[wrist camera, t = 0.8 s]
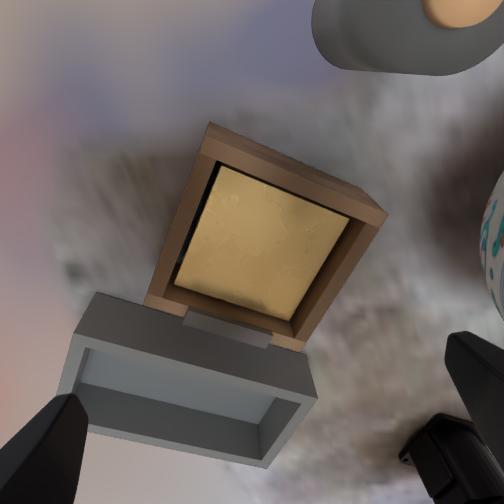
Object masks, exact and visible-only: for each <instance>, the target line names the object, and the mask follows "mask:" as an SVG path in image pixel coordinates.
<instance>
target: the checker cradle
mask: <svg viewBox="0 0 504 504" xmlns="http://www.w3.org/2000/svg"><path fill="white" fill-rule="evenodd" d="M216 160H218V161H220V162H223V163H225V164H228V165H230V166H232V167H235V168H237V169H240V170H242V171H244V172H247V173H249V174H251V175H254V176H256V177H259V178H261V179H263V180H266V181H268V182H271V183H273V184H275V185H278V186H280V187H283V188H285V189H287V190H290V191H292V192H294V193H297V194H299V195H302V196H304V197H306V198H309V199H311V200H314V201H316V202H318V203H321V204H323V205H326V206H328V207H330V208H333V209H335V210H337V211H340V212H342V213H345V214H346V215H347V216H348V218H349V221H348V223H347V224H346V226H345V228H344V229H343V231H342V233H341V234H340V236H339V238H338V239H337V241H336V243H335V244H334V246H333V248H332V249H331V251H330V253H329V254H328V256H327V258H326V259H325V261H324V263H323V264H322V266H321V268H320V269H319V271H318V273H317V274H316V276H315V278H314V280H313V281H312V283H311V285H310V286H309V288H308V290H307V291H306V293H305V295H304V296H303V298H302V300H301V301H300V303H299V305H298V306H297V308H296V310H295V311H294V313H293V315H292V316H291V318H290V320H289V321H287V320H284V319H281V318H278V317H274V316H271V315H268V314H265V313H262V312H259V311H256V310H253V309H249V308H246V307H243V306H240V305H237V304H234V303H231V302H228V301H225V300H221V299H218V298H215V297H212V296H209V295H206V294H203V293H200V292H197V291H193V290H190V289H187V288H184V287H181V286H178V285H175V284H174V282H175V277H176V274H177V271H178V269H179V266H180V264H178V263H176V261H177V259H178V256H179V253H180V251H181V248H182V246H183V243H184V241H185V238H186V236H187V233H188V231H189V228H190V226H191V223H192V220H193V218H194V215H195V213H196V210H197V208H198V205H199V203H200V200H201V198H202V195H203V193H204V190H205V187H206V185H207V182H208V180H209V177H210V175H211V172H212V170H213V167H214V165H215V162H216ZM388 215H389V214H388V213H387V212H385V211H384V210H383V209H382V208H381V207H380V206H379V205H378V204H377V203H376V202H375V201H374V200H373V199H372V198H371V197H370V196H369V195H367V194H366V193H365V192H364V191H363V190H362V189H360V188H358V187H356V186H353V185H351V184H349V183H347V182H344V181H342V180H340V179H338V178H335V177H333V176H331V175H329V174H326V173H324V172H322V171H320V170H317V169H315V168H313V167H311V166H308V165H306V164H304V163H302V162H299V161H297V160H295V159H292V158H290V157H288V156H286V155H283V154H281V153H279V152H277V151H274V150H272V149H270V148H268V147H265V146H263V145H261V144H259V143H256V142H254V141H252V140H250V139H247V138H245V137H243V136H241V135H238V134H236V133H234V132H232V131H229V130H227V129H225V128H223V127H220V126H218V125H216V124H214V123H211V122H209V124H208V127H207V130H206V133H205V135H204V138H203V141H202V143H201V146H200V149H199V152H198V154H197V157H196V160H195V162H194V165H193V168H192V171H191V173H190V176H189V179H188V181H187V184H186V187H185V190H184V192H183V195H182V198H181V200H180V203H179V206H178V209H177V211H176V214H175V217H174V219H173V222H172V225H171V228H170V230H169V233H168V236H167V238H166V241H165V244H164V247H163V249H162V252H161V255H160V257H159V260H158V263H157V266H156V268H155V271H154V274H153V277H152V280H151V283H150V286H149V289H148V292H147V295H146V298H145V301H144V303H143V305H145V306H148V307H152V308H155V309H158V310H161V311H165V312H168V313H171V314H175V315H178V316H181V317H184V318H183V325H186V326H190V327H193V328H196V329H200V330H203V331H207V332H210V333H213V334H217V335H220V336H223V337H227V338H230V339H234V340H237V341H240V342H244V343H247V344H251V345H254V346H257V347H261V348H264V349H266V347H267V346H268V344H269V343H271V344H275V345H278V346H281V347H285V348H288V349H291V350H295V351H298V352H300V351H301V350H302V348H303V347H304V345H305V344H306V342H307V341H308V339H309V337H310V336H311V334H312V333H313V331H314V330H315V328H316V327H317V325H318V323H319V322H320V320H321V319H322V317H323V316H324V314H325V313H326V311H327V310H328V308H329V306H330V305H331V303H332V302H333V300H334V299H335V297H336V296H337V294H338V292H339V291H340V289H341V288H342V286H343V285H344V283H345V282H346V280H347V279H348V277H349V275H350V274H351V272H352V271H353V269H354V268H355V266H356V265H357V263H358V261H359V260H360V258H361V257H362V255H363V254H364V252H365V251H366V249H367V248H368V246H369V244H370V243H371V241H372V240H373V238H374V237H375V235H376V234H377V232H378V230H379V229H380V227H381V226H382V224H383V223H384V221H385V220H386V218H387V216H388Z"/></svg>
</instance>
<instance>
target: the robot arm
mask: <svg viewBox="0 0 504 504" xmlns="http://www.w3.org/2000/svg"><path fill="white" fill-rule="evenodd" d="M445 365H446V368H447V370H448V372H449V374H450V376H451V378H452V380H453V382H454V384H455V386H456V388H457V390H458V392H459V394H460V396H461V398H462V400H463V403H464V405H465V407H466V409H467V411H468V413H469V415H470V417H471V419H472V421H473V423H471V422H467V421H464V420H460V419H456V418H453V417H449V416H446V415H438V416H436V417H435V418H434V419H433V420H432V421H431V422H430V423H429V424H428V426H427V427H426V428H425V429H424V430H423V431H422V432H421V433H420V434H419V435H418V436H417V437H416V438H415V439H414V440H413V441H412V442H411V443H410V444H409V445H408V446H407V448H406V449H405V450H404V451H403V452H402V453H401V454H400V455H399V460H400V462H401V463H404V464H408V465H412V466H415V467H416V469H417V471H418V474H419V476H420V478H421V480H422V482H423V484H424V486H425V489H426V491H427V493H428V495H429V497H430V498H432V499H433V501H434V503H435V504H504V349H502V348H500V347H498V346H496V345H494V344H492V343H490V342H488V341H486V340H484V339H483V338H481V337H479V336H477V335H475V334H473V333H471V332H468V331H462V332H455V333H451V334H449V336H448V339H447V345H446V351H445ZM88 424H89V419H88V414H87V412H86V410H85V409H84V407H83V405H82V403H81V401H80V399H79V398H78V396H77V395H76V394H75V393H67V394H61V395H57V396H55V397H54V398H53V399H52V400H51V401H50V402H49V403H48V404H47V405H46V406H45V407H44V408H43V409H41V410H40V412H38V414H36V415H35V416H34V417H33V418H32V419H31V420H30V421H29V422H28V423H27V424H26V425H25V426H24V427H23V428H22V429H21V430H20V431H19V432H18V433H17V434H16V435H14V437H12V438H11V439H10V440H9V441H8V442H7V443H6V444H5V445H4V446H3V447H2V448H1V449H0V504H73V503H74V499H75V495H76V491H77V485H78V481H79V476H80V470H81V464H82V459H83V453H84V447H85V441H86V436H87V430H88ZM486 445H487V447H488V448H489V450H490V451H491V453H492V454H491V453H490V451H489V450H488V448H487V447H486ZM492 455H493V456H494V457H493V456H492ZM494 458H495V459H496V460H495V459H494ZM496 461H497V462H496ZM498 464H499V465H498ZM500 467H501V468H500Z"/></svg>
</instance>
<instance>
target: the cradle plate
mask: <svg viewBox="0 0 504 504" xmlns="http://www.w3.org/2000/svg"><path fill="white" fill-rule="evenodd" d="M348 221H349V218H348V216H347V215H346V214H345V213H342V212H340V211H337V210H335V209H333V208H330V207H328V206H326V205H323V204H321V203H318V202H316V201H314V200H311V199H309V198H306V197H304V196H302V195H299V194H297V193H294V192H292V191H290V190H287V189H285V188H283V187H280V186H278V185H275V184H273V183H271V182H268V181H266V180H263V179H261V178H259V177H256V176H254V175H251V174H249V173H247V172H244V171H242V170H240V169H237V168H235V167H232V166H230V165H228V164H225V163H223V162H221V164H220V167H219V169H218V172H217V174H216V177H215V179H214V182H213V184H212V187H211V189H210V192H209V194H208V197H207V199H206V202H205V204H204V207H203V209H202V212H201V214H200V217H199V219H198V222H197V224H196V227H195V229H194V232H193V234H192V237H191V239H190V241H189V244H188V246H187V249H186V251H185V254H184V256H183V259H182V261H181V264H180V266H179V269H178V271H177V274H176V277H175V282H174V284H175V285H178V286H181V287H184V288H187V289H190V290H193V291H197V292H200V293H203V294H206V295H209V296H212V297H215V298H218V299H221V300H225V301H228V302H231V303H234V304H237V305H240V306H243V307H246V308H249V309H253V310H256V311H259V312H262V313H265V314H268V315H271V316H274V317H278V318H281V319H284V320H287V321H289V320H290V318H291V316H292V315H293V313H294V311H295V310H296V308H297V306H298V305H299V303H300V301H301V300H302V298H303V296H304V295H305V293H306V291H307V290H308V288H309V286H310V285H311V283H312V281H313V280H314V278H315V276H316V274H317V273H318V271H319V269H320V268H321V266H322V264H323V263H324V261H325V259H326V258H327V256H328V254H329V253H330V251H331V249H332V248H333V246H334V244H335V243H336V241H337V239H338V238H339V236H340V234H341V233H342V231H343V229H344V228H345V226H346V224H347V223H348Z"/></svg>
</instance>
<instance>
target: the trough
mask: <svg viewBox="0 0 504 504" xmlns="http://www.w3.org/2000/svg"><path fill="white" fill-rule="evenodd" d="M67 393H75V394H76V395H77V396H78V398H79V399H80V401H81V403H82V405H83V407H84V409H85V410H86V412H87V414H88V419H89V424H88V430H87V432H90V433H95V434H100V435H105V436H110V437H115V438H119V439H125V440H129V441H134V442H139V443H144V444H148V445H153V446H158V447H163V448H168V449H172V450H178V451H182V452H188V453H192V454H197V455H201V456H206V457H211V458H216V459H221V460H226V461H230V462H235V463H240V464H245V465H250V466H255V467H259V468H264V469H267V468H268V467H269V465H270V464H271V463H272V461H273V460H274V459H275V457H276V456H277V454H278V453H279V452H280V450H281V449H282V447H283V446H284V445H285V443H286V442H287V441H288V439H289V438H290V436H291V435H292V434H293V432H294V431H295V430H296V428H297V427H298V425H299V424H300V423H301V421H302V420H303V419H304V417H305V416H306V414H307V413H308V412H309V410H310V409H311V408H312V406H313V405H314V403H315V402H316V401H317V399H318V397H317V393H316V390H315V386H314V382H313V379H312V375H311V371H310V368H309V364H308V360H307V357H306V355H304V354H301V353H298V352H294V351H291V350H287V349H284V348H281V347H277V346H274V345H271V344H268V346H267V347H266V349H264V348H261V347H257V346H254V345H251V344H247V343H244V342H240V341H237V340H234V339H230V338H227V337H223V336H220V335H217V334H213V333H210V332H207V331H203V330H200V329H196V328H193V327H190V326H186V325H183V318H181V317H177V316H174V315H171V314H167V313H164V312H161V311H157V310H154V309H151V308H147V307H144V306H141V305H137V304H134V303H131V302H127V301H124V300H121V299H117V298H114V297H110V296H107V295H104V294H100V293H97V292H96V294H95V295H94V297H93V299H92V301H91V303H90V304H89V306H88V308H87V310H86V311H85V313H84V315H83V317H82V319H81V320H80V322H79V324H78V326H77V327H76V329H75V331H74V333H73V336H72V340H71V343H70V347H69V351H68V354H67V358H66V362H65V365H64V369H63V372H62V376H61V379H60V383H59V386H58V390H57V394H56V396H57V395H61V394H67Z"/></svg>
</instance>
